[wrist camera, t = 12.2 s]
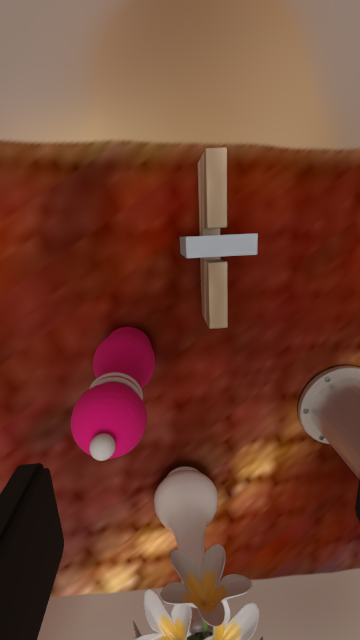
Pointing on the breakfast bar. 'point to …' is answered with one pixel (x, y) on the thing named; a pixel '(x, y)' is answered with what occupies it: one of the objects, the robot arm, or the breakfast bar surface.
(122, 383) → the pepper mill
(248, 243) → the notched plate
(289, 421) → the breakfast bar surface
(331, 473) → the breakfast bar surface
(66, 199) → the breakfast bar surface
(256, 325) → the breakfast bar surface
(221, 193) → the beige notched bar
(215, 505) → the flower vase
